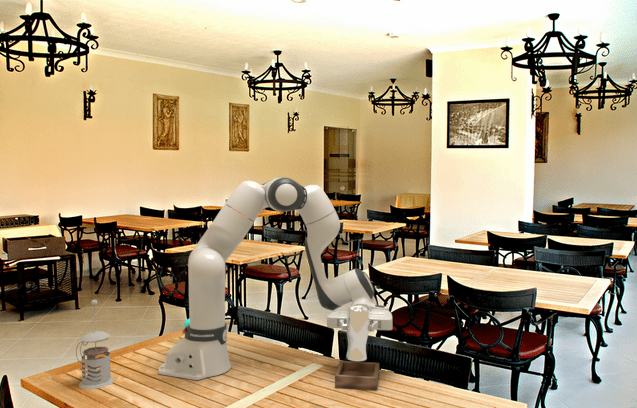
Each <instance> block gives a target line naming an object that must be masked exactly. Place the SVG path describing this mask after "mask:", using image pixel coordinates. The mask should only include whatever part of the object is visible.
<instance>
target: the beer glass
mask: <svg viewBox="0 0 637 408" xmlns="http://www.w3.org/2000/svg"><path fill="white" fill-rule="evenodd" d="M346 311H347V319H346V329H347V330H346V336H347V337H346V338H347V351H346V355H345V357H346V360H347V361H348V360H349V361H352V362H366V360H367V359H368V357H367V341H368V337H369V332H370V331H369V325H370V309H369V308H368V307H365V306H351V305H349V306H347V310H346Z"/></svg>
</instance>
